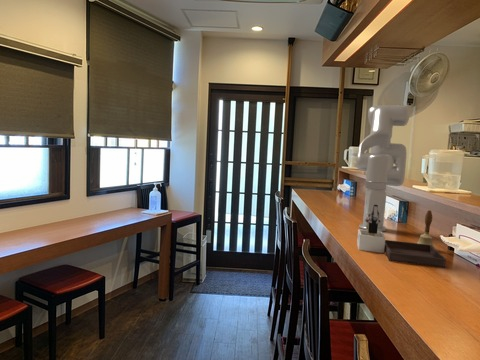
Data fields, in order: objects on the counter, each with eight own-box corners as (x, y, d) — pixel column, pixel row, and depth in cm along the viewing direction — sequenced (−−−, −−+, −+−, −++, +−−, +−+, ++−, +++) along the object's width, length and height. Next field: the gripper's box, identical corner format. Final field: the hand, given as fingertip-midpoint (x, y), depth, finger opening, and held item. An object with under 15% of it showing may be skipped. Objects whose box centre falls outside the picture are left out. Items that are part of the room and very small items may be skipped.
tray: (381, 246, 140) (382, 239, 140) (430, 252, 136) (431, 245, 135) (389, 260, 123) (389, 252, 123) (445, 267, 118) (446, 259, 118)
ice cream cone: (368, 250, 134) (371, 212, 132) (359, 246, 139) (362, 209, 138) (380, 250, 136) (384, 212, 134) (371, 245, 141) (375, 209, 139)
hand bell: (440, 250, 139) (445, 211, 137) (428, 253, 135) (433, 213, 133) (421, 245, 146) (425, 207, 144) (409, 247, 142) (413, 209, 140)
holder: (356, 243, 143) (358, 229, 142) (380, 246, 141) (382, 231, 140) (358, 249, 134) (360, 234, 134) (383, 252, 132) (385, 237, 131)
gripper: (363, 183, 144) (359, 225, 146) (368, 187, 127) (363, 235, 129) (382, 184, 142) (378, 227, 144) (389, 189, 126) (384, 237, 128)
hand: (371, 230), depth 137 cm, fingers closed on ice cream cone, 5 cm apart
